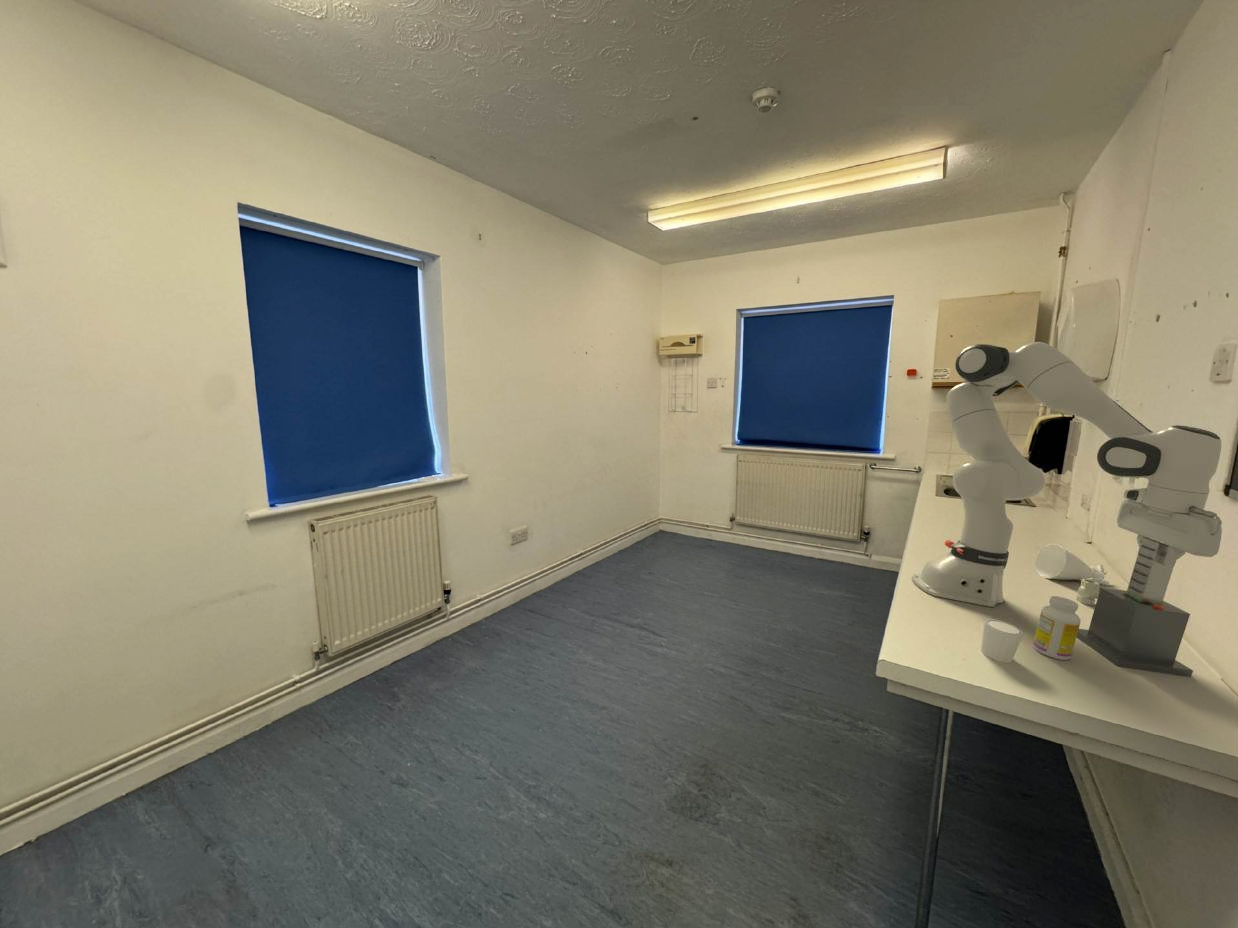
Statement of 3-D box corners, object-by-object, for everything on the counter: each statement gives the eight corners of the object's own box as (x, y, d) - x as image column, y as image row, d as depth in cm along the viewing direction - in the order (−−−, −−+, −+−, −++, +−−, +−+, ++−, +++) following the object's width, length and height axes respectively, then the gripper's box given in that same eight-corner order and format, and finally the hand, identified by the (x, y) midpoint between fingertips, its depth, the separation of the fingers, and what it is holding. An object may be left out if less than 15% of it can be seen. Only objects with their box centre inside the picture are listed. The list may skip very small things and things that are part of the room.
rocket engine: (1118, 555, 154) (1060, 537, 155) (1130, 588, 147) (1070, 569, 148) (1085, 570, 163) (1031, 553, 164) (1095, 601, 156) (1039, 583, 157)
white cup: (978, 642, 112) (985, 615, 111) (1016, 655, 108) (1023, 626, 107) (976, 655, 107) (983, 626, 106) (1015, 668, 103) (1023, 638, 102)
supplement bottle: (1071, 654, 110) (1086, 602, 108) (1069, 664, 106) (1084, 611, 103) (1033, 641, 115) (1047, 591, 113) (1029, 650, 111) (1043, 599, 108)
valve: (1075, 603, 138) (1135, 620, 130) (1081, 582, 137) (1142, 597, 129) (1075, 596, 143) (1132, 612, 135) (1080, 576, 142) (1139, 590, 134)
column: (1132, 626, 109) (1157, 543, 105) (1116, 617, 113) (1140, 537, 109) (1154, 629, 109) (1181, 546, 105) (1138, 620, 113) (1163, 539, 109)
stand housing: (1117, 666, 107) (1135, 607, 104) (1070, 633, 120) (1085, 580, 117) (1191, 676, 105) (1211, 617, 102) (1134, 641, 118) (1151, 588, 115)
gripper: (1242, 516, 95) (1219, 582, 97) (1148, 491, 114) (1132, 546, 117) (1204, 512, 96) (1183, 577, 98) (1118, 488, 115) (1102, 543, 118)
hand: (1155, 560), depth 108 cm, fingers closed on column, 4 cm apart
